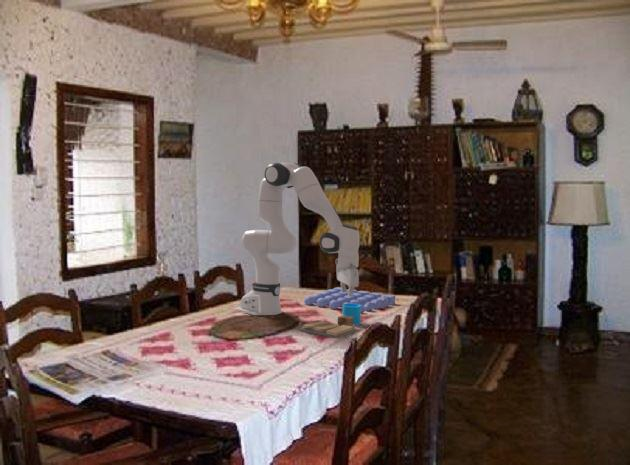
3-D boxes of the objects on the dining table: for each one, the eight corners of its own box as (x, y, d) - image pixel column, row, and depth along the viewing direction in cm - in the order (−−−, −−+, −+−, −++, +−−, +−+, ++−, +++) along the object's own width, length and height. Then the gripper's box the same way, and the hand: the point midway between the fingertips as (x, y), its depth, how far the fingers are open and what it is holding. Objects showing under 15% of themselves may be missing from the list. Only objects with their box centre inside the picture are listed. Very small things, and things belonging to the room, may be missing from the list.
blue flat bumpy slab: (395, 305, 359) (395, 295, 359) (363, 316, 330) (363, 305, 330) (337, 295, 378) (337, 287, 377) (302, 305, 349) (302, 295, 348)
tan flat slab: (302, 327, 294) (303, 324, 293) (318, 322, 304) (318, 319, 304) (325, 332, 288) (325, 329, 288) (339, 327, 298) (339, 324, 298)
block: (337, 328, 302) (337, 317, 301) (343, 326, 306) (343, 315, 305) (347, 330, 299) (347, 318, 298) (353, 328, 303) (353, 316, 303)
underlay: (299, 331, 293) (299, 325, 293) (317, 325, 305) (317, 320, 305) (336, 338, 284) (336, 332, 284) (352, 331, 296) (353, 326, 296)
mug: (356, 326, 307) (357, 307, 306) (339, 323, 310) (340, 305, 309) (365, 320, 318) (366, 303, 317) (349, 318, 321) (349, 301, 320)
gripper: (363, 265, 290) (361, 298, 291) (347, 259, 310) (346, 290, 311) (348, 265, 289) (347, 298, 290) (334, 259, 308) (333, 290, 309)
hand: (346, 294), depth 301 cm, fingers open, 8 cm apart
